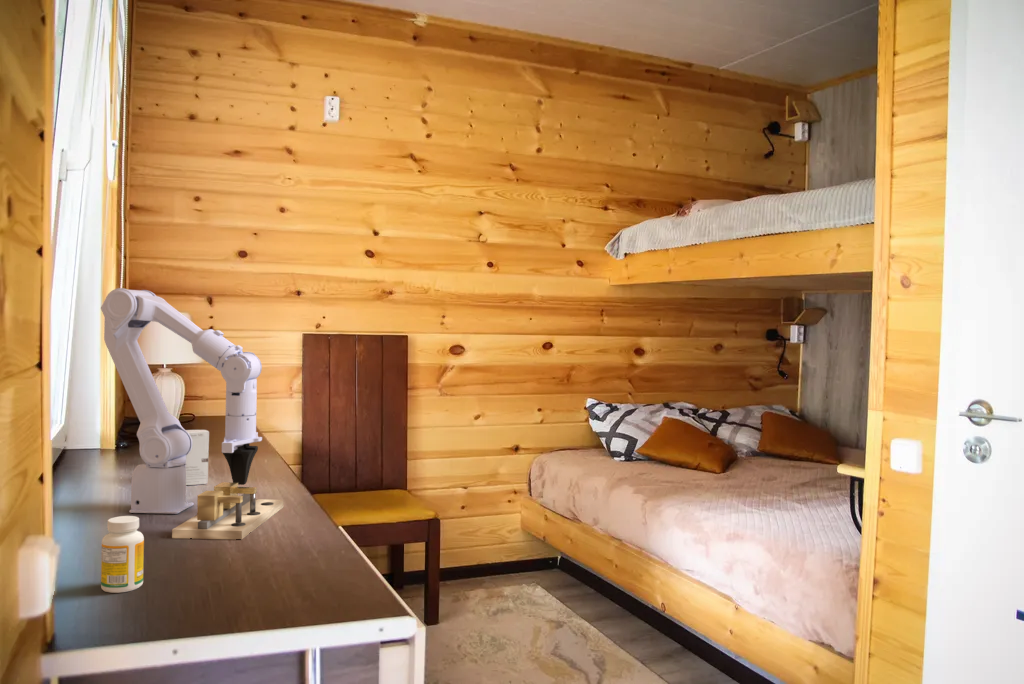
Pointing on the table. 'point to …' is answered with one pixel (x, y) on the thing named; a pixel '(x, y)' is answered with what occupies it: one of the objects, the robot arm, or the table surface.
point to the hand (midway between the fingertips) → (239, 484)
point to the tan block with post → (234, 490)
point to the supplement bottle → (122, 555)
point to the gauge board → (225, 517)
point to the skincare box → (198, 458)
